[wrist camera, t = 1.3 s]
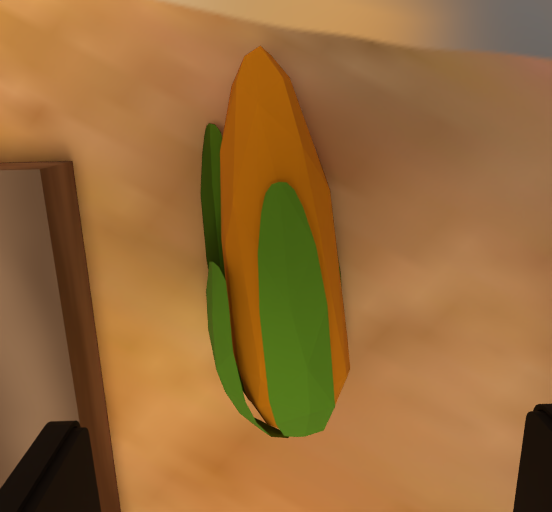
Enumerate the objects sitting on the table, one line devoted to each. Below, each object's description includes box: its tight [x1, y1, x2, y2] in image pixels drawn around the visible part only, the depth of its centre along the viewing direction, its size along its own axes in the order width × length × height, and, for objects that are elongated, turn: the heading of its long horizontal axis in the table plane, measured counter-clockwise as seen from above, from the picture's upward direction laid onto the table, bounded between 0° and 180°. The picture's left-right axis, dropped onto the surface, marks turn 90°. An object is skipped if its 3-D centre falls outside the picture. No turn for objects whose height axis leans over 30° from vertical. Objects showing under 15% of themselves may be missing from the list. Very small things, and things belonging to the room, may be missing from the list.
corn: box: [201, 46, 350, 438], centre depth 24 cm, size 7×8×20 cm
